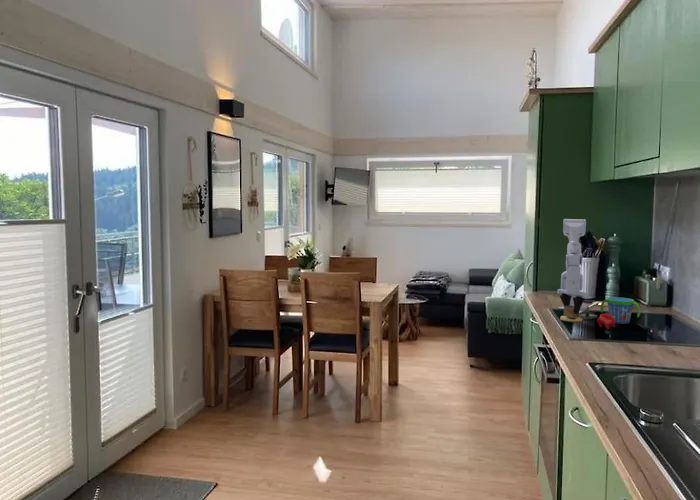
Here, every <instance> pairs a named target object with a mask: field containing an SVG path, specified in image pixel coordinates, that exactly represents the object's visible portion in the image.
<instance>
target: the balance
mask: <svg viewBox="0 0 700 500" xmlns="http://www.w3.org/2000/svg"><path fill="white" fill-rule="evenodd" d="M602 302H603V301H593V302H591V304H590V305H586V306H585V307H583V308H584V309H582V310H580V311H579V317H575V318H570V317H566V316H563V315H561V316H560V318H559V319H560V321H563V322H568V323H582V322H583V320H592V319H593V320H594V319H598V315H597V314H592V313H590V309H592V308H593V307H600V308H601V304H602ZM603 308H608V303H607V301H605V303H604V304H603Z"/></svg>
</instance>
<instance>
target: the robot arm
mask: <svg viewBox="0 0 700 500" xmlns="http://www.w3.org/2000/svg"><path fill="white" fill-rule="evenodd" d="M562 225H563V226H562V233H563V236H565V237H567V239H568V243H567V245H566V246H567V248H566V255H565V271H563V272H562V273H561V275H560V276H561V278H560V288H558V289H556V290H557V294H558V295H559V298H560V300H561V302H562V306H559V307H558V309H560V310H564V306H567V305H573V306H574V313H575V314H577V313H579V311H580V310H582V309H584V308H585V307H584V302H585V300H586V299H589V293H586V292H583V288H584V286H583V285H584V279H583V278H584V277H583V274H582V273H581V272H582V271H581V270H582V269H581V268H582V266H583V252H582V243H580V242H579V240H580V237H584V236H585V234H586V231H587V230H586V229H587V220H586V219H585V218H584V219H578V218H576V219H575V218H573V219H572V218H564V219H563V224H562Z"/></svg>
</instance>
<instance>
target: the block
mask: <svg viewBox="0 0 700 500" xmlns="http://www.w3.org/2000/svg"><path fill="white" fill-rule="evenodd" d="M562 316H566V317H570V318H575V317H579V313H577V314H575V313H574V306H573V305H567V306H564V309H563V315H562Z"/></svg>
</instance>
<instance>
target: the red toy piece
mask: <svg viewBox="0 0 700 500" xmlns="http://www.w3.org/2000/svg"><path fill="white" fill-rule="evenodd" d="M596 319H597V320H596V321H597V323H598V325H599V328H602V327H603V325H604V326H605V328H606V329H607V330H609V329H610V327H609V325H610V326H611V327H613V328H616V323H615V319H614V318H613V317H612V316H611V315H609V313H604V312H603V313H602V314H600V315H599V317H597V318H596Z"/></svg>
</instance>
